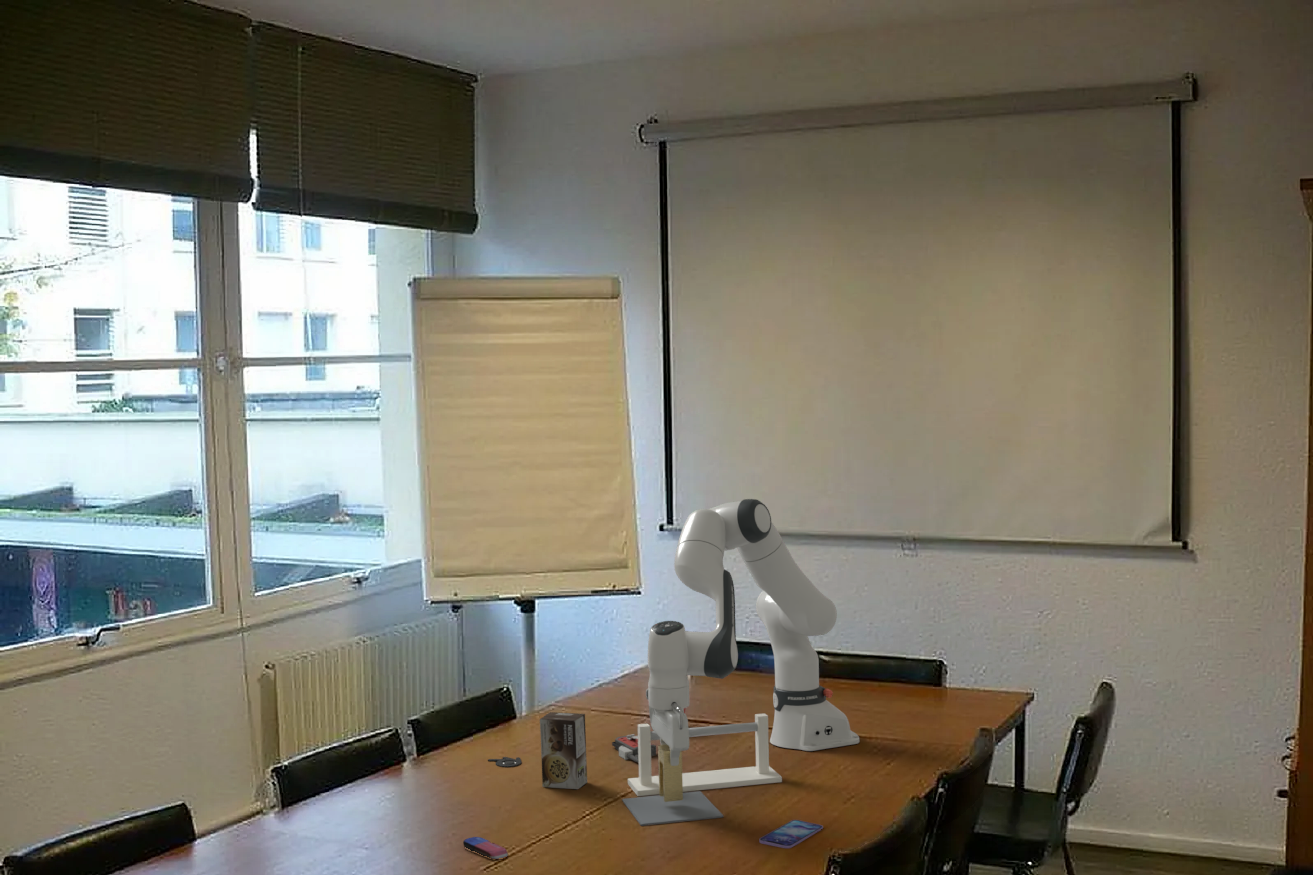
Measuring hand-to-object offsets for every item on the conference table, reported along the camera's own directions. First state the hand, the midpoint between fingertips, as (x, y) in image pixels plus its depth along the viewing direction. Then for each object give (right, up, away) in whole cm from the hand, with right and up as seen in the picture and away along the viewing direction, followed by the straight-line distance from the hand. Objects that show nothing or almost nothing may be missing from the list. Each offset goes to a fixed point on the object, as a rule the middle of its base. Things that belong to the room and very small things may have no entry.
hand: (670, 760), depth 309 cm
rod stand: (+8, -9, +19) cm, 23 cm away
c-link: (0, -8, 0) cm, 8 cm away
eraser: (-37, -13, -24) cm, 46 cm away
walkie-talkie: (-8, -9, +43) cm, 45 cm away
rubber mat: (0, -11, +1) cm, 11 cm away
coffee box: (-24, -10, +20) cm, 33 cm away
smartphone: (+25, -12, -18) cm, 33 cm away
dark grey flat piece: (-42, -10, +42) cm, 60 cm away
